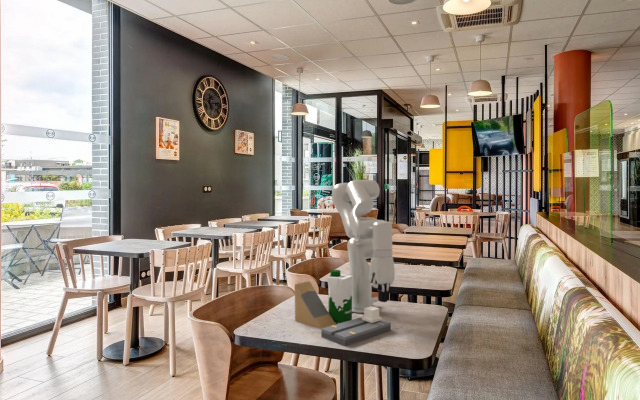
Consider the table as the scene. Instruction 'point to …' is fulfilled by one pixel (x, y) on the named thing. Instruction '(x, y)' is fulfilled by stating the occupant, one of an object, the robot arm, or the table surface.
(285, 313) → the table surface
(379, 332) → the fader console
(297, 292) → the sandwich container
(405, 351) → the table surface
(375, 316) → the fader knob
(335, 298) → the milk carton
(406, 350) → the table surface
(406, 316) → the table surface
